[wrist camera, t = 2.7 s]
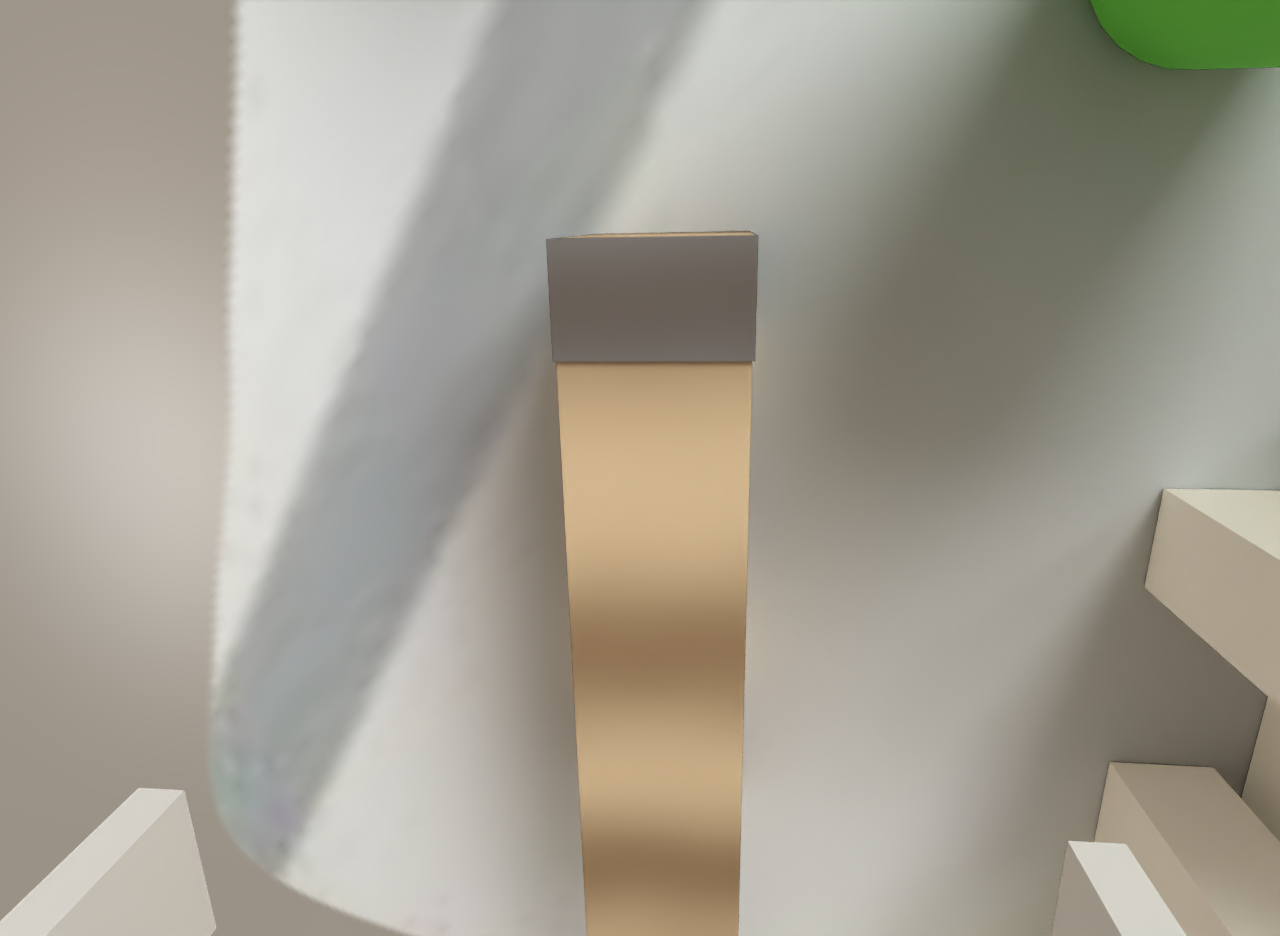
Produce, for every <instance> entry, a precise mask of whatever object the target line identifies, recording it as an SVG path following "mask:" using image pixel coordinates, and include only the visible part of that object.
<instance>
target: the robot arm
mask: <svg viewBox="0 0 1280 936" xmlns="http://www.w3.org/2000/svg"><path fill="white" fill-rule="evenodd" d="M216 928H217V927H216V923H215V919H214V915H213V910H212V906H211V902H210V898H209V893H208V889H207V885H206V880H205V876H204V872H203V868H202V863H201V859H200V855H199V851H198V846H197V842H196V838H195V834H194V829H193V825H192V821H191V817H190V812H189V808H188V804H187V800H186V795H185V791H184V790H169V789H151V788H138V789H137V790H136V791H135V792H134V793H133V794H132V795H131V796H130V797H129V798H128V799H127V800H126V801H125V802H124V803H123V804H121V806H119V807H118V808H117V809H116V810H115V811H114V812H113V813H112V814H111V815H110V816H109V817H108V818H107V819H106V820H105V821H104V822H103V823H102V824H101V825H100V826H99V827H98V828H96V829H95V830H94V831H93V832H92V833H91V834H90V835H89V836H88V837H87V838H86V839H85V840H84V841H83V842H82V843H81V844H80V845H79V846H78V847H77V848H76V849H75V850H74V851H73V852H72V853H71V854H69V855H68V856H67V858H66V859H64V860H63V861H62V862H61V863H60V864H59V865H58V866H57V867H56V868H55V869H54V870H53V871H52V872H51V873H50V874H49V875H48V876H47V877H46V878H45V879H43V880H42V881H41V882H40V883H39V884H38V885H37V886H36V887H35V888H34V889H33V890H32V891H31V892H30V893H29V894H28V895H27V896H26V897H25V898H24V899H23V900H22V901H21V902H20V903H19V904H18V905H16V906H15V908H13V909H12V910H11V911H10V912H9V913H8V914H7V915H6V916H5V917H4V918H3V919H2V920H1V921H0V936H211V935H212V933H213V932H214V931H215V929H216ZM1051 936H1186V934H1185V933H1184V931H1183V930H1182V928H1181V927H1180V925H1179V924H1178V922H1177V921H1176V919H1175V917H1174V916H1173V914H1172V913H1171V911H1170V910H1169V908H1168V907H1167V905H1166V904H1165V902H1164V901H1163V899H1162V898H1161V896H1160V895H1159V893H1158V892H1157V890H1156V889H1155V887H1154V886H1153V884H1152V883H1151V881H1150V880H1149V878H1148V876H1147V875H1146V873H1145V872H1144V870H1143V869H1142V867H1141V866H1140V864H1139V863H1138V861H1137V860H1136V858H1135V857H1134V855H1133V854H1132V852H1131V851H1130V849H1129V848H1128V846H1127V845H1126V844H1119V843H1102V842H1084V841H1068V842H1067V847H1066V853H1065V858H1064V864H1063V870H1062V875H1061V881H1060V886H1059V892H1058V898H1057V903H1056V909H1055V914H1054V920H1053V926H1052V931H1051Z"/></svg>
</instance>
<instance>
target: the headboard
mask: <svg viewBox="0 0 1280 936" xmlns="http://www.w3.org/2000/svg"><path fill="white" fill-rule="evenodd" d="M1144 587H1145V588H1146V589H1147V590H1148V591H1149V592H1150V593H1151V594H1152V595H1154V596H1155V597H1156V598H1157V599H1158V600H1159V601H1160V602H1162V603H1163V604H1164V605H1165V606H1166V607H1167V608H1168V609H1169V610H1171V611H1172V612H1173V613H1174V614H1175V615H1176V616H1177V617H1178V618H1180V619H1181V620H1182V621H1183V622H1184V623H1185V624H1186V625H1188V626H1189V627H1190V628H1191V629H1192V630H1193V631H1194V632H1195V633H1197V634H1198V635H1199V636H1200V637H1201V638H1202V639H1203V640H1205V641H1206V642H1207V643H1208V644H1209V645H1210V646H1211V647H1212V648H1214V649H1215V650H1216V651H1217V652H1218V653H1219V654H1220V655H1222V656H1223V657H1224V658H1225V659H1226V660H1227V661H1228V662H1229V663H1231V664H1232V665H1233V666H1234V667H1235V668H1236V669H1237V670H1239V671H1240V672H1241V673H1242V674H1243V675H1244V676H1245V677H1246V678H1248V679H1249V680H1250V681H1251V682H1252V683H1253V684H1254V685H1255V686H1257V687H1258V688H1259V689H1260V690H1261V691H1262V692H1263V693H1265V694H1266V695H1267V696H1268V699H1267V703H1266V707H1265V710H1264V714H1263V718H1262V722H1261V726H1260V729H1259V733H1258V737H1257V741H1256V744H1255V748H1254V752H1253V756H1252V760H1251V763H1250V767H1249V771H1248V775H1247V778H1246V782H1245V786H1244V790H1243V794H1242V797H1241V798H1240V797H1239V796H1238V794H1237V793H1236V792H1235V791H1234V790H1233V789H1232V788H1231V787H1230V785H1229V784H1228V783H1227V782H1226V781H1225V780H1224V779H1223V778H1222V776H1221V775H1220V774H1219V773H1218V772H1217V771H1216V770H1215V768H1213V767H1194V766H1175V765H1157V764H1138V763H1119V762H1110V763H1109V768H1108V773H1107V779H1106V784H1105V789H1104V794H1103V799H1102V804H1101V809H1100V814H1099V819H1098V824H1097V829H1096V834H1095V839H1094V840H1095V842H1102V843H1119V844H1126V845H1127V846H1128V848H1129V849H1130V851H1131V852H1132V854H1133V855H1134V857H1135V858H1136V860H1137V861H1138V863H1139V864H1140V866H1141V867H1142V869H1143V870H1144V872H1145V873H1146V875H1147V876H1148V878H1149V880H1150V881H1151V883H1152V884H1153V886H1154V887H1155V889H1156V890H1157V892H1158V893H1159V895H1160V896H1161V898H1162V899H1163V901H1164V902H1165V904H1166V905H1167V907H1168V908H1169V910H1170V911H1171V913H1172V914H1173V916H1174V917H1175V919H1176V921H1177V922H1178V924H1179V925H1180V927H1181V928H1182V930H1183V931H1184V933H1185V934H1186V936H1280V490H1219V489H1164V490H1163V495H1162V500H1161V505H1160V510H1159V516H1158V521H1157V526H1156V531H1155V536H1154V541H1153V546H1152V551H1151V556H1150V561H1149V566H1148V571H1147V576H1146V581H1145V586H1144Z"/></svg>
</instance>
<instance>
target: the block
mask: <svg viewBox="0 0 1280 936" xmlns="http://www.w3.org/2000/svg"><path fill="white" fill-rule="evenodd" d="M546 247H547V265H548V284H549V302H550V320H551V338H552V357H553V361H556V366H557V385H558V404H559V422H560V441H561V460H562V479H563V497H564V516H565V535H566V553H567V572H568V591H569V610H570V628H571V647H572V666H573V685H574V703H575V722H576V741H577V759H578V778H579V797H580V816H581V834H582V853H583V872H584V890H585V909H586V928H587V936H738V922H739V882H740V841H741V801H742V760H743V720H744V679H745V639H746V598H747V558H748V517H749V477H750V436H751V396H752V361H755V344H756V306H757V267H758V235H757V234H755V233H753V232H751V231H722V232H671V233H619V234H591V235H582V236H572V237H563V238H553V239H546Z"/></svg>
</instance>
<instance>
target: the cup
mask: <svg viewBox="0 0 1280 936" xmlns="http://www.w3.org/2000/svg"><path fill="white" fill-rule="evenodd" d="M1090 2H1091V4H1092V7H1093V9H1094V11H1095V13H1096V16H1097V18H1098V20H1099V23H1100V25H1101V26H1102V27H1103V29H1104V30H1105V31H1106V32H1107V33H1108V35H1109V36H1110V37H1111V38H1112V39H1113V41H1114V42H1115V43H1116V44H1117V45H1118V46H1119V47H1120V48H1122V49H1123V50H1125V51H1126V52H1128V53H1129V54H1131V55H1132V56H1134V57H1135V58H1137V59H1139V60H1140V61H1143V62H1146V63H1149V64H1153V65H1156V66H1159V67H1163V68H1166V69H1196V70H1197V69H1230V68H1264V67H1280V0H1090Z"/></svg>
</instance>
